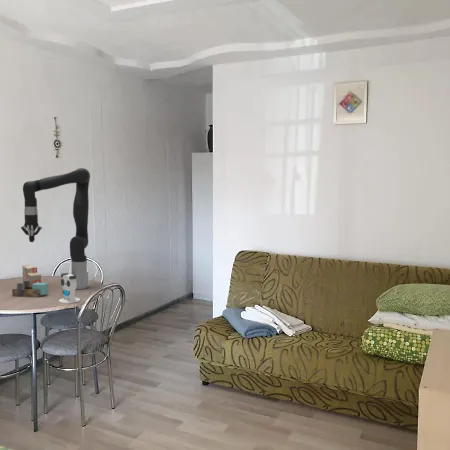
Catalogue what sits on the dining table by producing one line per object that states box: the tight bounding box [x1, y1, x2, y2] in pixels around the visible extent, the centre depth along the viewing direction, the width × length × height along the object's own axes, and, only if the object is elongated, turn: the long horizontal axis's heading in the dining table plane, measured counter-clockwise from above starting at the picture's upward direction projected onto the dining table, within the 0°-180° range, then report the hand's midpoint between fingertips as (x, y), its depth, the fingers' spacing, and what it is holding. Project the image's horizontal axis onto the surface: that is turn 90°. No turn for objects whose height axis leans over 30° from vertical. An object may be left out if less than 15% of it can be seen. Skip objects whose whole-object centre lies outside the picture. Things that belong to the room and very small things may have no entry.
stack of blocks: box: [21, 264, 42, 287], centre depth 304 cm, size 21×6×12 cm, turn 35°
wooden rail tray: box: [11, 280, 43, 298], centre depth 282 cm, size 16×8×8 cm, turn 85°
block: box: [32, 282, 49, 296], centre depth 282 cm, size 7×5×6 cm
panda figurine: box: [58, 272, 81, 304], centre depth 272 cm, size 12×11×15 cm
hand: (31, 241), depth 296 cm, fingers closed
